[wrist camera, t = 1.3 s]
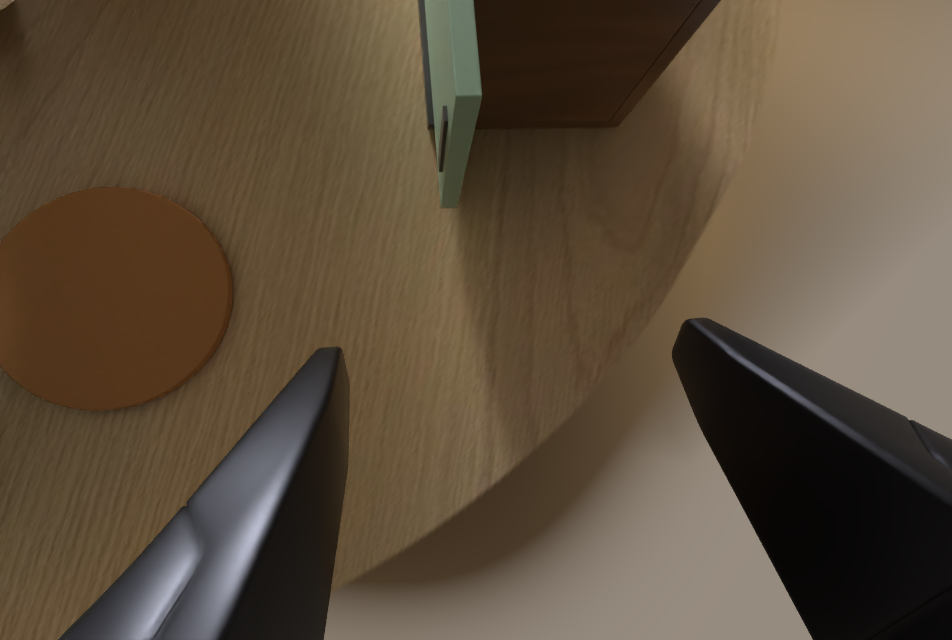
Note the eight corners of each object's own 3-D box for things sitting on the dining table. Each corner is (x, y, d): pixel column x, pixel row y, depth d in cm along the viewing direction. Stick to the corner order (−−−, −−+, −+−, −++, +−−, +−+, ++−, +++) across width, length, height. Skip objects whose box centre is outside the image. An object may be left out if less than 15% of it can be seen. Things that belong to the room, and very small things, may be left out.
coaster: (279, 280, 21) (275, 278, 21) (125, 456, 20) (116, 458, 19) (108, 149, 21) (99, 143, 21) (-63, 316, 19) (-78, 314, 19)
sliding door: (457, 207, 22) (482, 96, 13) (437, 208, 22) (450, 96, 13) (440, 3, 23) (453, -225, 14) (421, 2, 23) (423, -227, 14)
